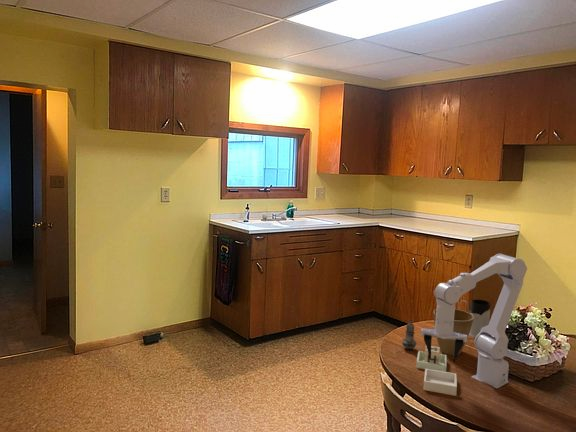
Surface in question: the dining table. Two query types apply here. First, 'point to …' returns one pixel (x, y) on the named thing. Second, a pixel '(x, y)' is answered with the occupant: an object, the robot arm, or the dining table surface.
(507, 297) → the robot arm
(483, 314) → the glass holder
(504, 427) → the dining table surface
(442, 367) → the sage tray
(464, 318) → the plant pot
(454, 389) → the white tray
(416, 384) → the dining table surface
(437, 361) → the letter block
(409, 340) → the salt shaker
